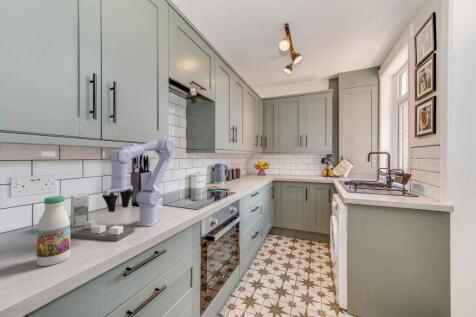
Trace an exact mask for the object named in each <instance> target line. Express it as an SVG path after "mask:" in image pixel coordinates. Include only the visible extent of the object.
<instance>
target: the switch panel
mask: <svg viewBox="0 0 476 317" xmlns="http://www.w3.org/2000/svg"><path fill="white" fill-rule="evenodd" d="M111 227H112V226H107V225H106V231H104V232H102V233H100V234H98V233H92V229H87V228H84V227H81V228H79V229H78V230H74V231H72V232H70V238H75V239H86V240H87V239H88V240H97V241H99V240H100V241H108V242H119V241H120V240H122V239H124V238H127V237H128V236H129V235H131V234H133V233H135V230H136V229H135V227H123V232H122V233H121V234H119V235H112V234H110V228H111Z"/></svg>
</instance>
